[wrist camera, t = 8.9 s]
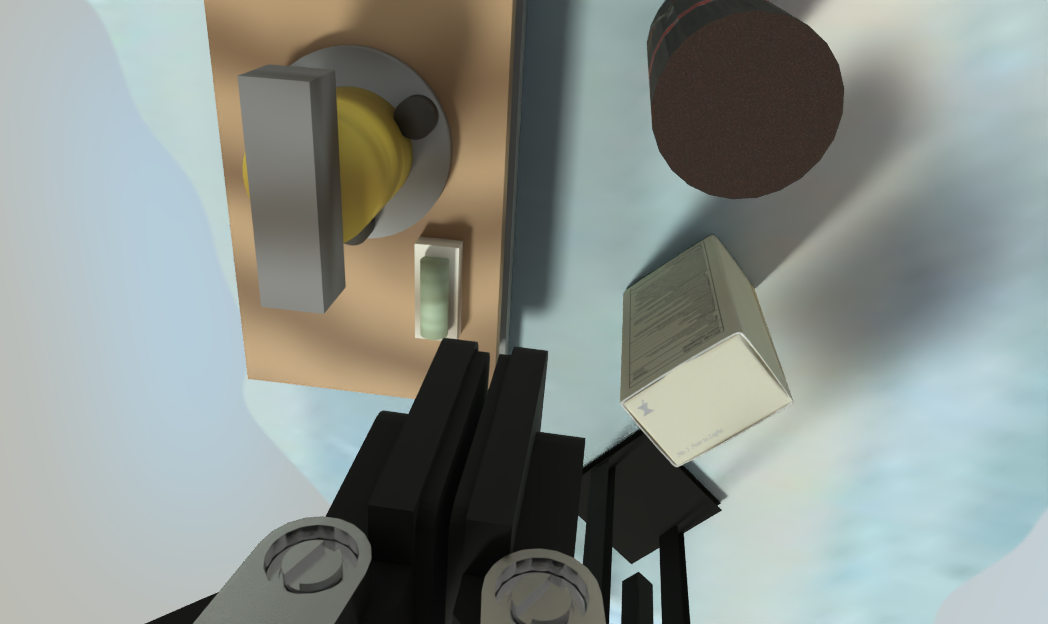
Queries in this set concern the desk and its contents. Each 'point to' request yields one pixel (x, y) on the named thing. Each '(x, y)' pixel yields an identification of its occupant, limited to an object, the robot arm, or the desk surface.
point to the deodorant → (740, 95)
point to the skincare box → (698, 354)
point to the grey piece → (512, 171)
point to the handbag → (641, 525)
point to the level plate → (388, 261)
